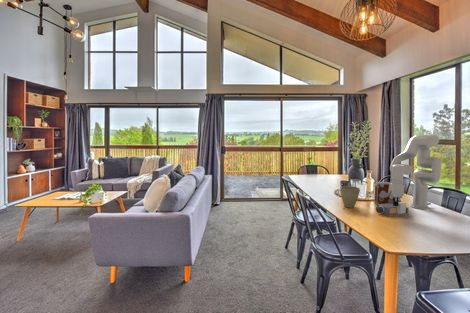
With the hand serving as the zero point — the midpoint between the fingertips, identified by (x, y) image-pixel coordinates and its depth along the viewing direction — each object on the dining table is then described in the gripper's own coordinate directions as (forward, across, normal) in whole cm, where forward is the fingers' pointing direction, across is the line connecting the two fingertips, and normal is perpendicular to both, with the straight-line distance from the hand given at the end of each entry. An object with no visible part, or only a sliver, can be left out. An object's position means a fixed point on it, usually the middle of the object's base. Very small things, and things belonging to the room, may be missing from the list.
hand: (395, 205), depth 187 cm
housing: (+7, -1, -5) cm, 8 cm away
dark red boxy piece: (+7, -15, -22) cm, 27 cm away
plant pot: (+7, +18, -28) cm, 34 cm away
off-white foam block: (+6, -5, 0) cm, 8 cm away
